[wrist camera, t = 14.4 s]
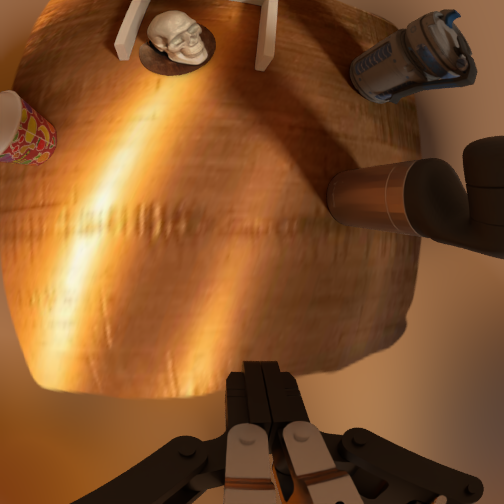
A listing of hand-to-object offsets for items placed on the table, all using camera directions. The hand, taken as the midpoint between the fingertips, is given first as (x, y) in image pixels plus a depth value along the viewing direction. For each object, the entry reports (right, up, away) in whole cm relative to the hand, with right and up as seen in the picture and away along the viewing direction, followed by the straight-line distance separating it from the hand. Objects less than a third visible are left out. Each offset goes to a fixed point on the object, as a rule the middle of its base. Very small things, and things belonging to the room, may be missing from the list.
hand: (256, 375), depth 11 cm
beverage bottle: (+22, +37, +30) cm, 52 cm away
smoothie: (-32, +22, +19) cm, 43 cm away
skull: (-12, +37, +21) cm, 45 cm away
